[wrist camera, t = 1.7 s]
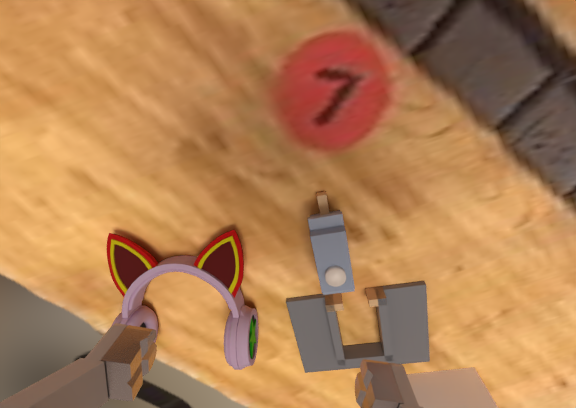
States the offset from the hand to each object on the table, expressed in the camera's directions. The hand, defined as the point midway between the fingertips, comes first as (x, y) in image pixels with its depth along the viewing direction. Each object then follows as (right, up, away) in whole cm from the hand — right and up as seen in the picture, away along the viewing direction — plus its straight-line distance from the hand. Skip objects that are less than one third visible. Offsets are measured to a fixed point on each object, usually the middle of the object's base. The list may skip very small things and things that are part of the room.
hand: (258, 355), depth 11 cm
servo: (+7, +1, +28) cm, 29 cm away
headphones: (-14, -6, +33) cm, 36 cm away
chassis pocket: (+12, -14, +33) cm, 38 cm away
